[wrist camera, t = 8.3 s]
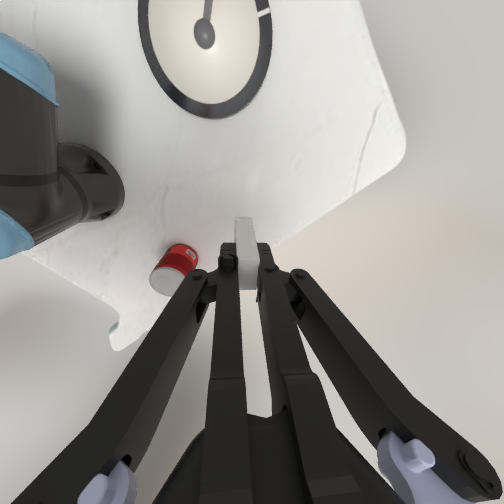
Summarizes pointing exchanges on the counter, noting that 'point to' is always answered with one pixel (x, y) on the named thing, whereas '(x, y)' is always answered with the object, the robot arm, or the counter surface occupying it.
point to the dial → (205, 45)
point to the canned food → (173, 269)
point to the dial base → (222, 108)
